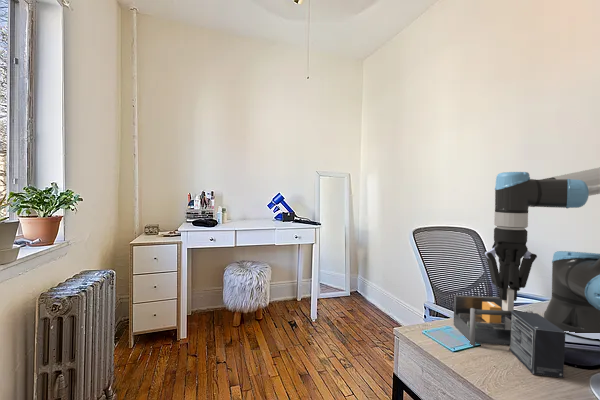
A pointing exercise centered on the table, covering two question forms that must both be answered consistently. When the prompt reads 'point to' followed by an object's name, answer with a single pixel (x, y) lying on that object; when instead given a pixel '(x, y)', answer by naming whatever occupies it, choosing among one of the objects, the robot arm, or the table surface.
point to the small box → (537, 344)
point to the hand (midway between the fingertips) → (507, 311)
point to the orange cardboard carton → (491, 317)
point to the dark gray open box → (481, 320)
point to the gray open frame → (484, 312)
